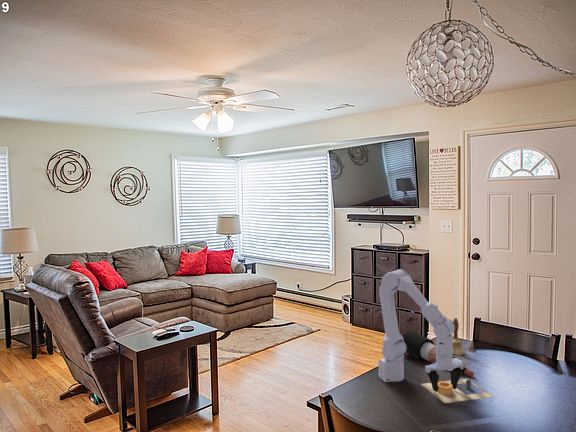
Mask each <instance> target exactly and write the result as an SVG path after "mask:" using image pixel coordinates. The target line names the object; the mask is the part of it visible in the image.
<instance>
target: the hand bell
mask: <svg viewBox="0 0 576 432" xmlns="http://www.w3.org/2000/svg"><path fill="white" fill-rule="evenodd" d="M452 322H453V323H454V325H455V330H454V332H453V354H455V355H454V356H463V355H465V354H466V351H465V350H464V349H463V347H462V341H461V340H460V339H459V337H458V331H459V329H460V328H459V325H460V324H459V320H458V318H453V320H452Z"/></svg>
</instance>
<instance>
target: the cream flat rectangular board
mask: <svg viewBox="0 0 576 432" xmlns="http://www.w3.org/2000/svg"><path fill="white" fill-rule="evenodd" d="M444 382H449V383H450V384H451V379H450V380H444ZM462 384H465V389H466V390H471V389H472V385H473V386H475V387H476V388H478V389H479V390H481V391H483V392H481V393H480V392H479V393H471V394H465V393H464V392H463V391H462V390H460V389H458V388H457V387H456V389H453V392H452V394H451V395H443V394H439V393H438V392H435V391H434V390H433V388H432V384H431V382H427V383H421V384H420V385H421V386H423V388H425V389H426V390H427V391H429V392H430V393H431V394H433V395H434V396H435V397H436V398H437V399H438V400H440V401H441V402H442V403H443V404H449V403H457V402H463V401H465V402H466V401H471V400H479V399H486V398H495V396H494V395H493V394H492V393H490V392H488V391H487V390H486V389H484V388H482V387H480V385H478V384H476V383H475V382H473V381H472V380H470V379H469V378H460V379H459V381H458V384H457V385H462Z"/></svg>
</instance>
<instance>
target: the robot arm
mask: <svg viewBox="0 0 576 432" xmlns="http://www.w3.org/2000/svg"><path fill="white" fill-rule="evenodd" d="M396 291H400V292H405V293H407V295H408V296H409V297H410V298H412V300H413V301H414V302H415V303H416V304H417V305H418V306H419V307H420V313H421V315H422V316H423V317H424V319H426V320H427V322H428V323H429V324H430V325H431V326H432V328H433V334H434V335H435V338H436V339H435V341H436V342H435V346H436V363H434V364H433V363H431V364H428V365H424V371H425V373H426V375H427V376H428V377H429V380H430V383H431V384H432V388H433V390H434V391H435V392H437V391H438V382H439V378H440V374H438V373H437V372H441V371H447V372H449V375H450V380H451V384H452V385H453V389H456V388H457V386H458V385H459V384H458V381H459V379H461V377H462V376H463V375H464V373H463V371H462V370H461V369H463V363H461V362H453V356H454V355H453V339H454V330H455V325H454V323H453V320H451V319H450V318H447V316H445V315H444V314H443V313H442V311H440V310H439V306H438V305H437V304H434V303H433V302H430V301H428V300H427V299H426V298H425V296H424V294H423V293H422V292H421V291H420V289H419V288H418V286H416V284H415V283H414V281H413V279H412V277H411V276H410V274H408V273H407V271H405V270H404V269H400V268H398V269H396V270H393V271H388V272H386V273H385V274H384V275H383V276H382V277H381V283H380V286H379V289H378V292H379V293H378V294H379V300H380V307H381V313H382V321H383V327H384V334H385V335H384V337H383V340H382V349H381V353H382V356H383V358H381V359H379V360H378V377H379V378H380V379H381V380H382V381H383V382H384V383H389V382H402V381H404V379H405V377H404V376H405V374H404V373H405V372H404V371H405V370H404V369H405V366H404V365H405V363H404V361H405V360H404V357H405V356H404V355H405V353H407V352H406V349H407V347H406V344H405V342H404V340H403V337H404V336H403V335H402V334H401V333H400V330H399V323H398V316H397V309H396V304H395V295H394V294H395V293H396Z"/></svg>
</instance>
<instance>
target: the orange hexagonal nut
mask: <svg viewBox="0 0 576 432" xmlns="http://www.w3.org/2000/svg"><path fill="white" fill-rule="evenodd" d="M444 381H445V380H444ZM444 381H438V391H437V392H438V393H439V394H443V395H451V394H452V392H453V385H452V384H450V383H449V382H444Z"/></svg>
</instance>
